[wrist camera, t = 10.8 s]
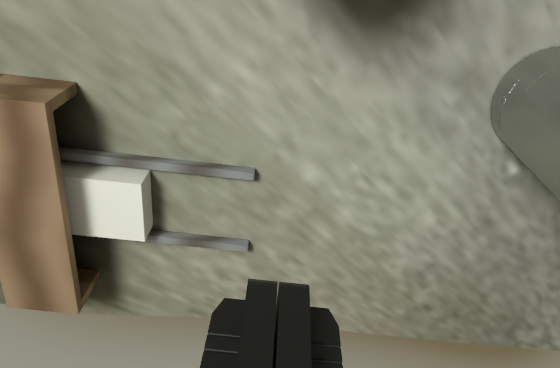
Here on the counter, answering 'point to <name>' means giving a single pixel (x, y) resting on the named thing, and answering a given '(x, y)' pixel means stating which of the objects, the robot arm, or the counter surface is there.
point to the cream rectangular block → (108, 200)
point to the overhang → (61, 199)
